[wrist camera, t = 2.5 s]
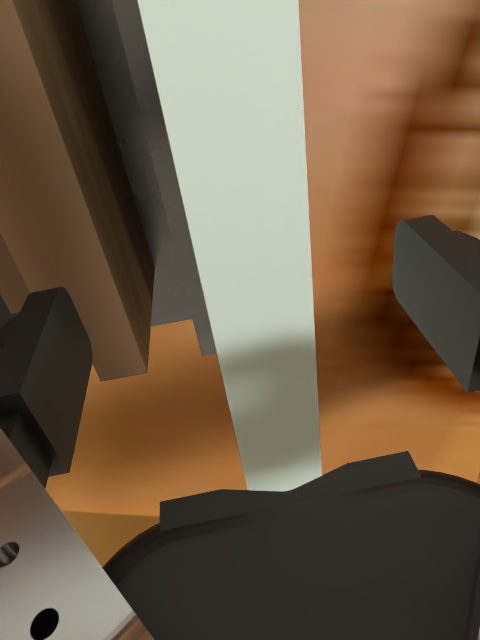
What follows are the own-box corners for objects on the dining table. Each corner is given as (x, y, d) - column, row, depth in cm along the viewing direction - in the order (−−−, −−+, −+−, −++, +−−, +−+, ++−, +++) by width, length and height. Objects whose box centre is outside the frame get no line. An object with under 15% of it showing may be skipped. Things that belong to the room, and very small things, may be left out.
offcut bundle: (67, -31, 18) (-5, -47, 11) (154, 269, 26) (147, 372, 19) (-81, -5, 18) (-254, -4, 11) (53, 287, 26) (7, 398, 19)
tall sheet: (192, -86, 17) (275, -469, 3) (245, 267, 27) (327, 582, 13) (151, -79, 17) (40, -431, 3) (219, 272, 27) (271, 593, 13)
